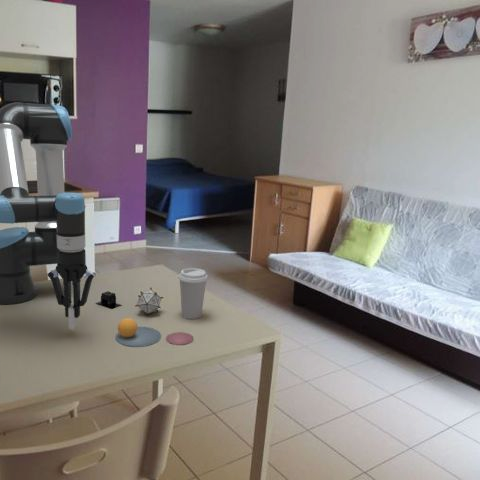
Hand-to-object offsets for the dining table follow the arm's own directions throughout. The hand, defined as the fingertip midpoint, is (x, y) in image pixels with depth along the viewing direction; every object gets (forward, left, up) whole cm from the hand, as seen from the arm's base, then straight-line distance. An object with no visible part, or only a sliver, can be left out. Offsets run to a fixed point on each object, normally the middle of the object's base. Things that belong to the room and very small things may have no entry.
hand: (72, 327), depth 138 cm
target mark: (+19, 0, -2) cm, 19 cm away
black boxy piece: (+4, +24, -3) cm, 24 cm away
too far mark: (+31, 0, -2) cm, 31 cm away
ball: (+16, 0, +1) cm, 16 cm away
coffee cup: (+33, +18, -2) cm, 38 cm away
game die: (+19, +18, -2) cm, 26 cm away
